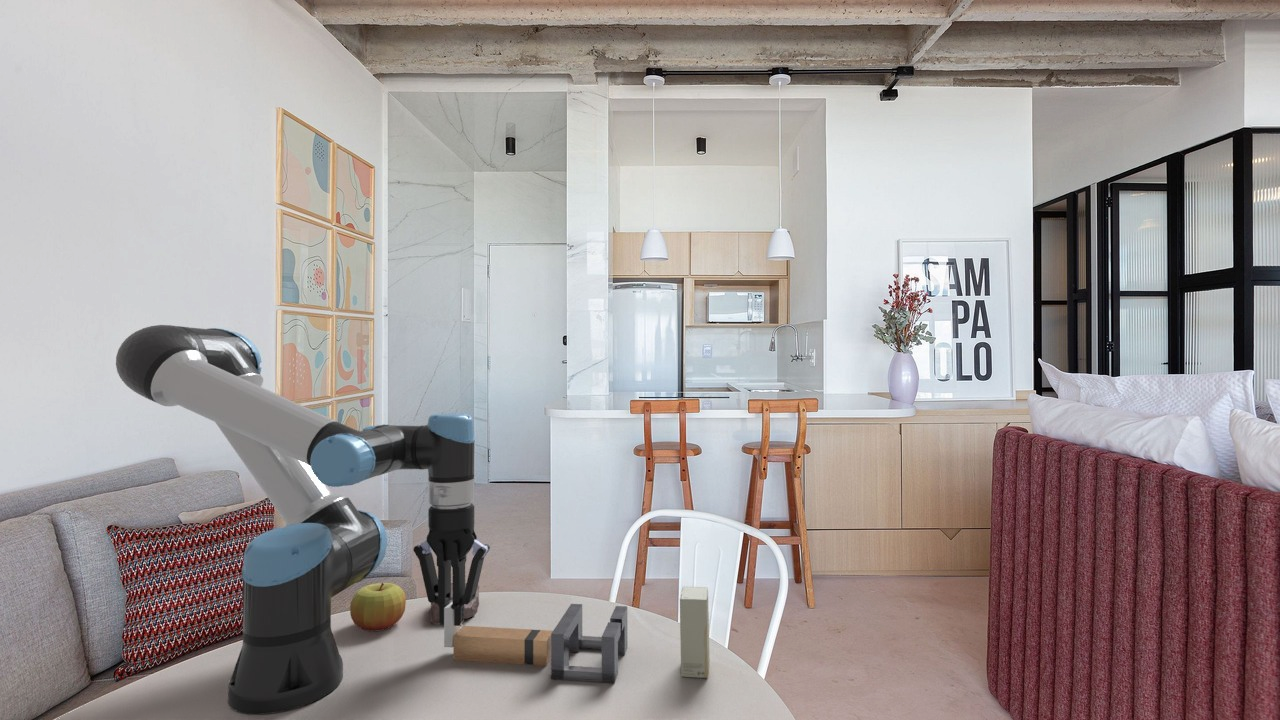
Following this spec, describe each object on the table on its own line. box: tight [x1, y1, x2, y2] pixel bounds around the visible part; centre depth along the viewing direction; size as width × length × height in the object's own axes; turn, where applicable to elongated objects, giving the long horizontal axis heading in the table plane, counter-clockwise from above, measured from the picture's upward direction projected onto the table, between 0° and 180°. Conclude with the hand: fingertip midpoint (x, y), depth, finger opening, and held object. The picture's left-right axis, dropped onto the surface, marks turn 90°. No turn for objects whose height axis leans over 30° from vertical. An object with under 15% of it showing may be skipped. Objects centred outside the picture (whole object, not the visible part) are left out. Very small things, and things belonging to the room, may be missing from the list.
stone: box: [429, 582, 480, 625], centre depth 123 cm, size 12×9×5 cm
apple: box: [349, 582, 407, 632], centre depth 116 cm, size 10×10×8 cm
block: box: [453, 625, 553, 667], centre depth 103 cm, size 16×4×4 cm, turn 82°
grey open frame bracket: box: [550, 603, 628, 684], centre depth 101 cm, size 10×12×7 cm
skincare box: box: [679, 586, 711, 679], centre depth 99 cm, size 6×4×12 cm
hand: (451, 643), depth 105 cm, fingers closed
